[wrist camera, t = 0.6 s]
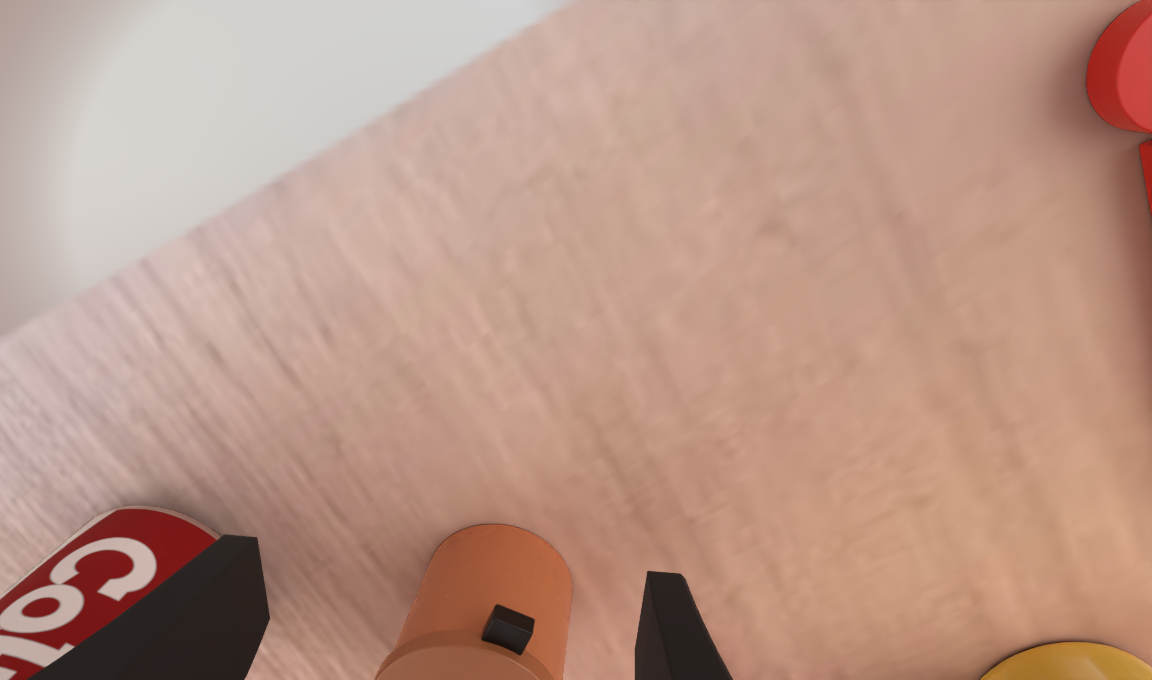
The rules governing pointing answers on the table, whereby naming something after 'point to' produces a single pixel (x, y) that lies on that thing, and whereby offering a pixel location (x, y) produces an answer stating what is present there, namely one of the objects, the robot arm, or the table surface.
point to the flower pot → (1071, 664)
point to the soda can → (92, 582)
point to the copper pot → (487, 611)
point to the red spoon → (1126, 77)
